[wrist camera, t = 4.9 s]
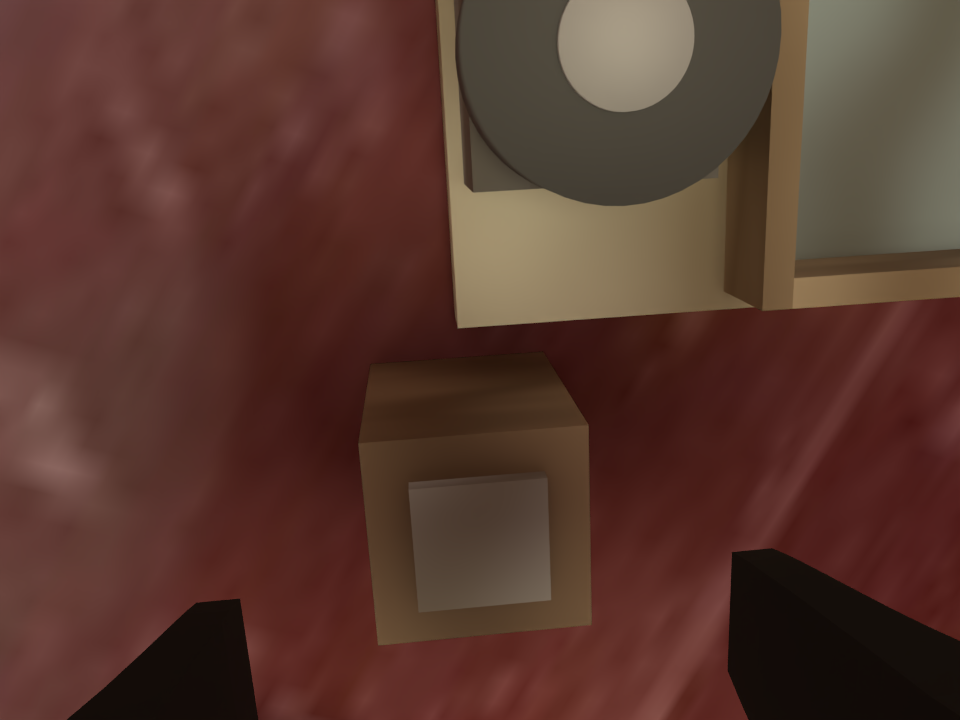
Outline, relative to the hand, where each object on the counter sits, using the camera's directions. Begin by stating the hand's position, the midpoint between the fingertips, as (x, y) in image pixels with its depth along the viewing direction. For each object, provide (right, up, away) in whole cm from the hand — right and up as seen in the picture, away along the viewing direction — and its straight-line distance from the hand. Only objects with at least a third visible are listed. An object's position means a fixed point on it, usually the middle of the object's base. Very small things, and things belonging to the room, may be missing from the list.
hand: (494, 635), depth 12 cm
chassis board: (+5, +9, +6) cm, 12 cm away
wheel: (+2, +10, +4) cm, 11 cm away
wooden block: (-1, +2, +8) cm, 8 cm away
